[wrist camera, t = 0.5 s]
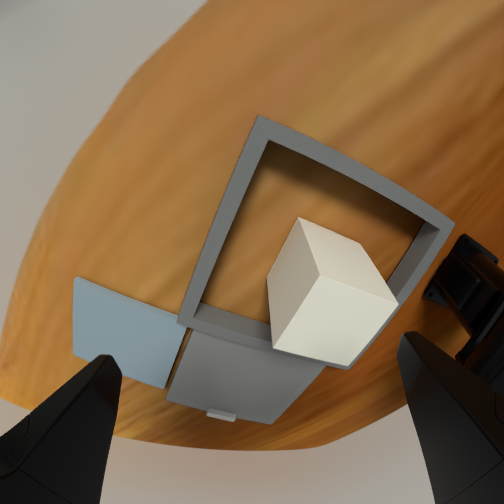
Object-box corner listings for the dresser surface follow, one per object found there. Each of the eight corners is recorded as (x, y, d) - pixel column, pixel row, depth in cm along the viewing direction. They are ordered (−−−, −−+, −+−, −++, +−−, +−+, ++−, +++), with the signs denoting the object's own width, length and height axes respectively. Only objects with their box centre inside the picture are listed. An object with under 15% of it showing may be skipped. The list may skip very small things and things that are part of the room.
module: (359, 243, 20) (398, 304, 14) (324, 300, 23) (345, 369, 17) (298, 216, 20) (320, 275, 13) (264, 280, 22) (270, 351, 16)
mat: (189, 319, 23) (188, 324, 23) (164, 384, 28) (163, 389, 27) (77, 276, 22) (74, 279, 21) (75, 350, 26) (73, 354, 25)
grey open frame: (441, 212, 19) (455, 223, 17) (282, 419, 31) (283, 433, 29) (257, 114, 16) (258, 115, 15) (153, 388, 28) (149, 403, 26)
